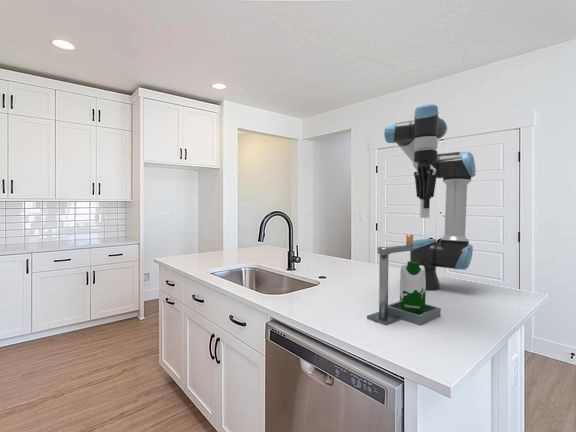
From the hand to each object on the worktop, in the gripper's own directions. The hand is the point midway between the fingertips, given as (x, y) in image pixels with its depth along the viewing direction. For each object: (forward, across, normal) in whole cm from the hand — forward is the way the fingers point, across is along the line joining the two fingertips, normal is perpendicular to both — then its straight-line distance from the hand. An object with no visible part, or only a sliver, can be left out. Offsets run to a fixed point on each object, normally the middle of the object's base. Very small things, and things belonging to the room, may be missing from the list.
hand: (424, 217), depth 114 cm
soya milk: (+36, +2, +3) cm, 37 cm away
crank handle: (+12, +2, +9) cm, 16 cm away
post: (+36, -1, +15) cm, 39 cm away
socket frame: (+36, +2, +3) cm, 36 cm away
